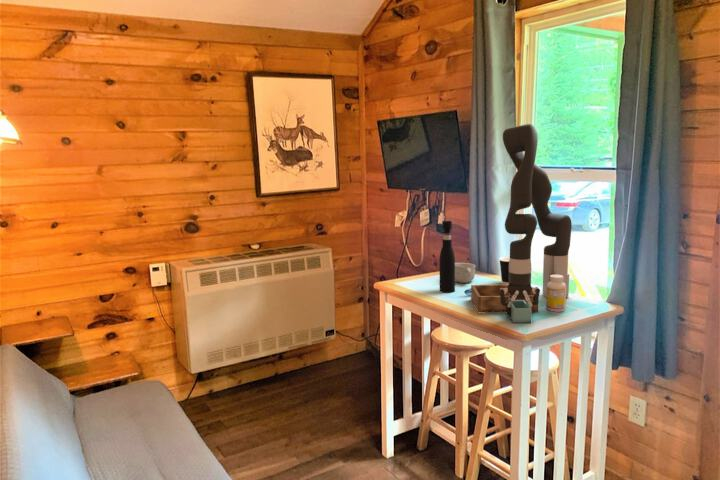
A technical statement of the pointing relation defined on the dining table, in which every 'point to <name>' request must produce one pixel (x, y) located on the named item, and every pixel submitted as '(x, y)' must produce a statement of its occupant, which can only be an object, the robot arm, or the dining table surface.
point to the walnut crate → (493, 298)
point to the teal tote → (520, 312)
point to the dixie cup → (504, 269)
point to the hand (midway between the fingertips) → (518, 316)
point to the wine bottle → (447, 261)
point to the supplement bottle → (556, 294)
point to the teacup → (464, 272)
